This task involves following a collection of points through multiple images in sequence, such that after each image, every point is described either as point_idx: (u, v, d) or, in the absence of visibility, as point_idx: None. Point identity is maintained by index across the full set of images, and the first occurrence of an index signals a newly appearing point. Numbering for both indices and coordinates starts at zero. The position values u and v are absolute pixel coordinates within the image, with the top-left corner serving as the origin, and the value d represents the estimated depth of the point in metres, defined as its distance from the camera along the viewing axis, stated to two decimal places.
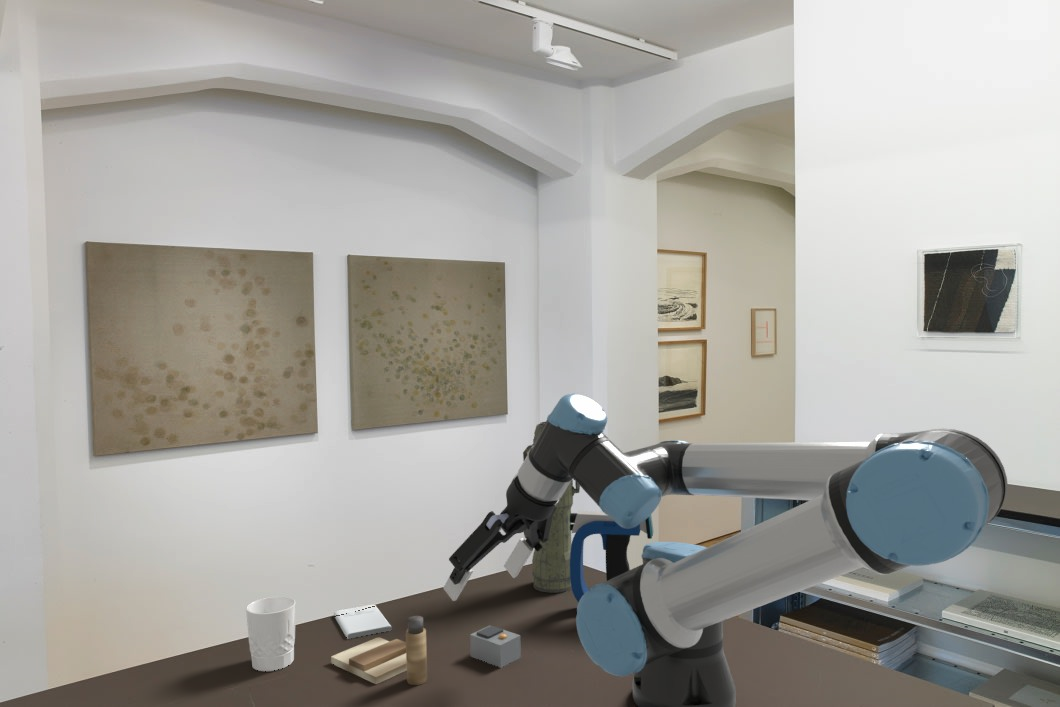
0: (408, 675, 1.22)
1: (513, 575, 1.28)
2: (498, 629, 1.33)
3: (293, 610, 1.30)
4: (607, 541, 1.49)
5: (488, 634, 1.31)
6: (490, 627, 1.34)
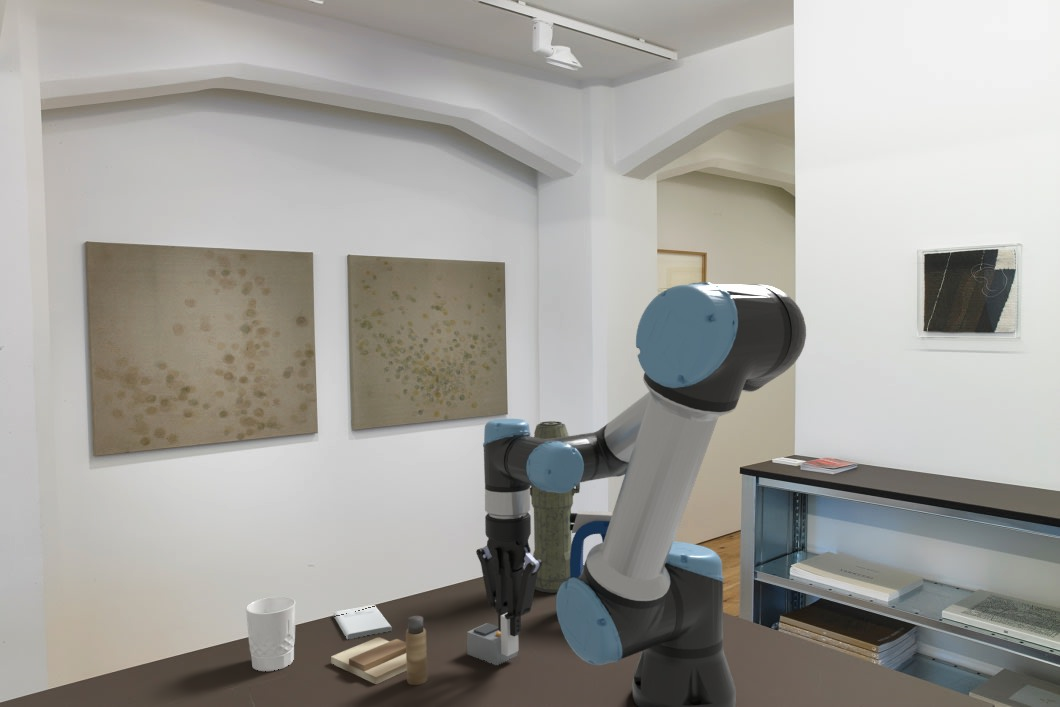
0: (408, 675, 1.22)
1: None
2: (495, 627, 1.34)
3: (293, 610, 1.30)
4: None
5: (485, 631, 1.32)
6: (487, 625, 1.34)
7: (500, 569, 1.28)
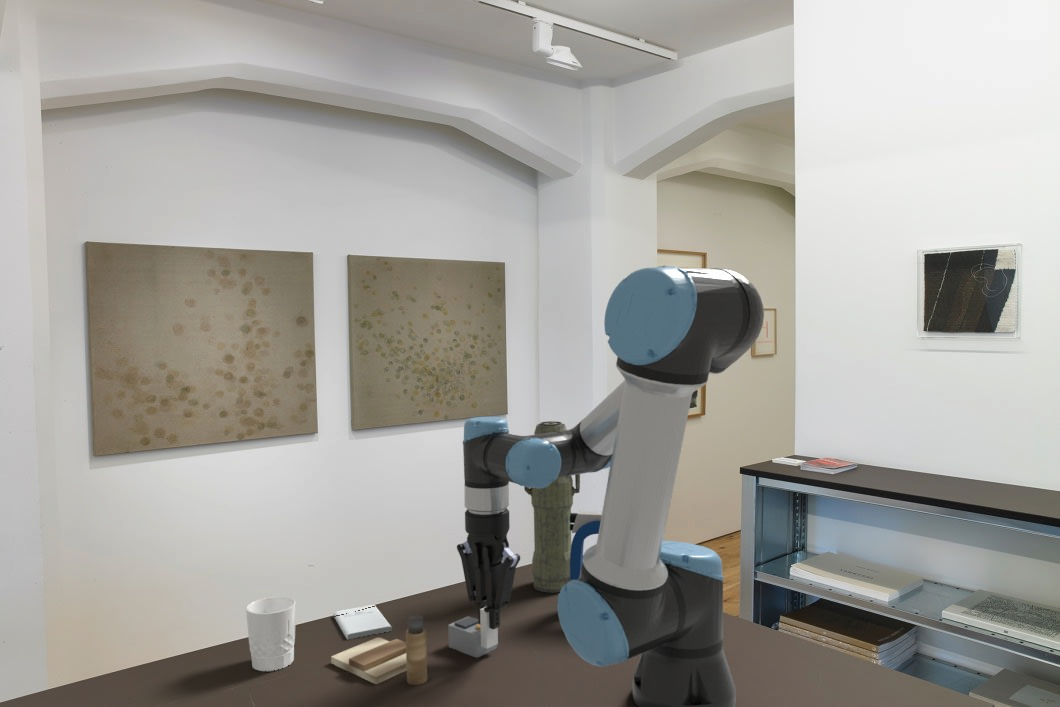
0: (408, 675, 1.22)
1: None
2: (475, 620, 1.37)
3: (293, 610, 1.30)
4: None
5: (465, 624, 1.35)
6: (468, 618, 1.38)
7: (479, 564, 1.31)
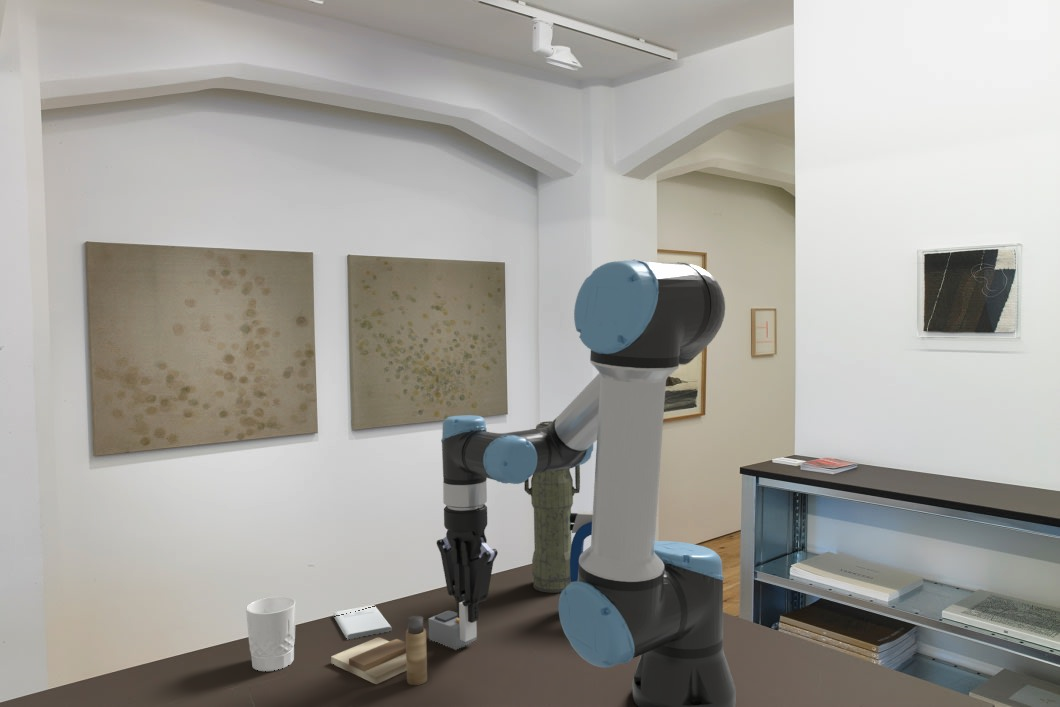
0: (408, 675, 1.22)
1: None
2: (455, 613, 1.40)
3: (293, 610, 1.30)
4: None
5: (445, 618, 1.38)
6: (448, 612, 1.41)
7: (458, 559, 1.35)
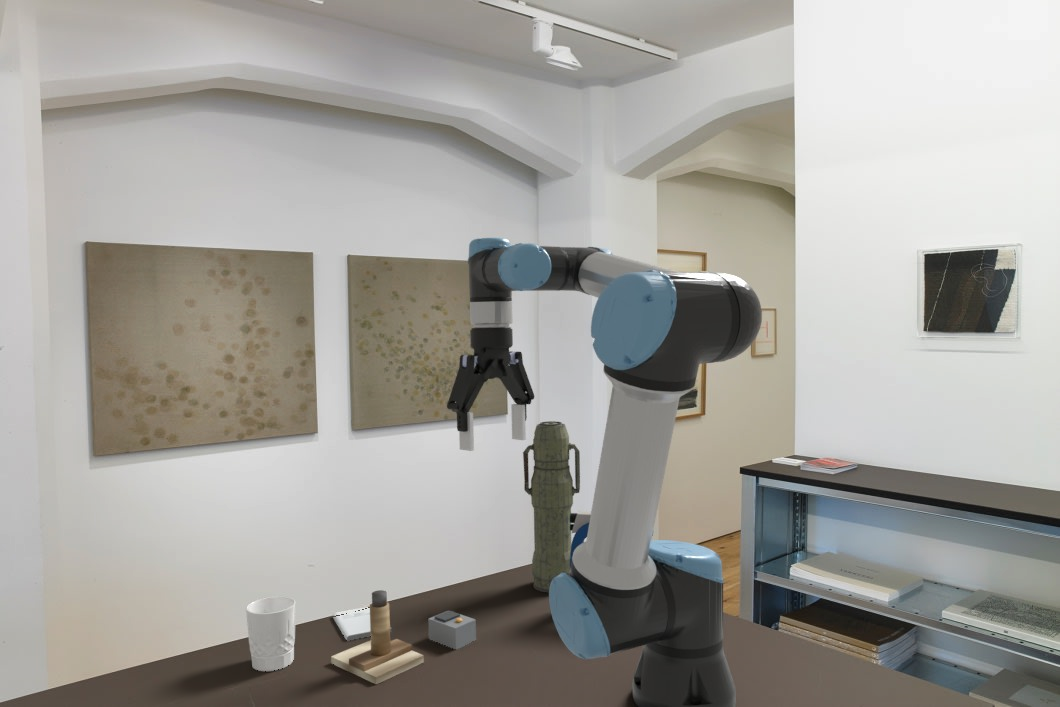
0: (372, 646, 1.28)
1: (521, 438, 1.43)
2: (455, 614, 1.40)
3: (293, 610, 1.30)
4: None
5: (445, 618, 1.38)
6: (448, 612, 1.41)
7: None
